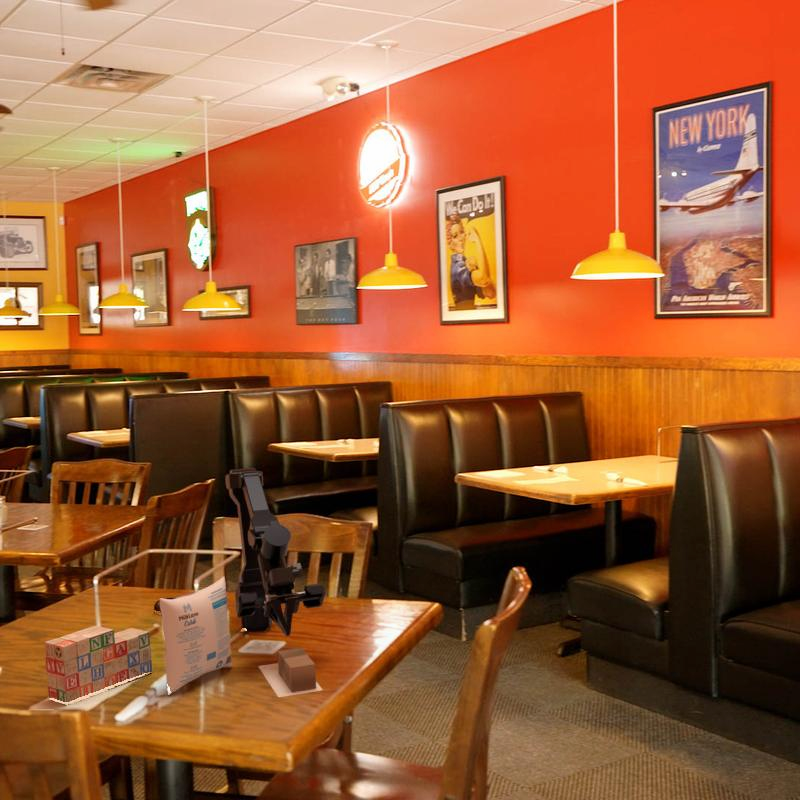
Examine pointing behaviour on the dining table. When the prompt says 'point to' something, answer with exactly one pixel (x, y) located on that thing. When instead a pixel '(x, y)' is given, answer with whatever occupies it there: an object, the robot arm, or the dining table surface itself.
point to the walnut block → (296, 669)
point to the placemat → (281, 681)
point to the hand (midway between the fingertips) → (288, 635)
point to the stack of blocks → (95, 660)
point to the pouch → (196, 634)
